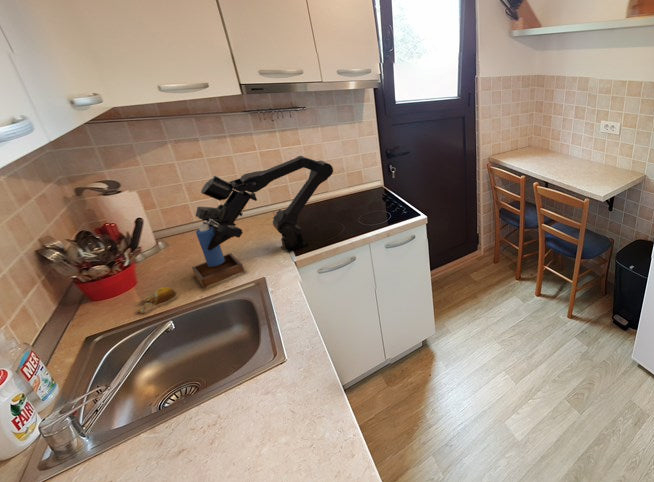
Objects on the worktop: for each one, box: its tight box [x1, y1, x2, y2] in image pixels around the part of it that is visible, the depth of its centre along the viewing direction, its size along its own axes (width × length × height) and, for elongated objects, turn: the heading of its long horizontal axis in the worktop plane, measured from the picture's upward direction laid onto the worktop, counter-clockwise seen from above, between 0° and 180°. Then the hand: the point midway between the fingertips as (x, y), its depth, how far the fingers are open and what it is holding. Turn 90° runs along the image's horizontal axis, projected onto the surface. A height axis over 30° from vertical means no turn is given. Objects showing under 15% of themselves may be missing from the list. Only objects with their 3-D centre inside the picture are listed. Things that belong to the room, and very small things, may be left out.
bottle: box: [195, 223, 225, 267], centre depth 111 cm, size 5×5×15 cm
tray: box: [191, 252, 245, 288], centre depth 115 cm, size 12×12×4 cm
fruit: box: [139, 287, 176, 314], centre depth 103 cm, size 8×8×4 cm
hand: (205, 247), depth 111 cm, fingers closed on bottle, 5 cm apart
